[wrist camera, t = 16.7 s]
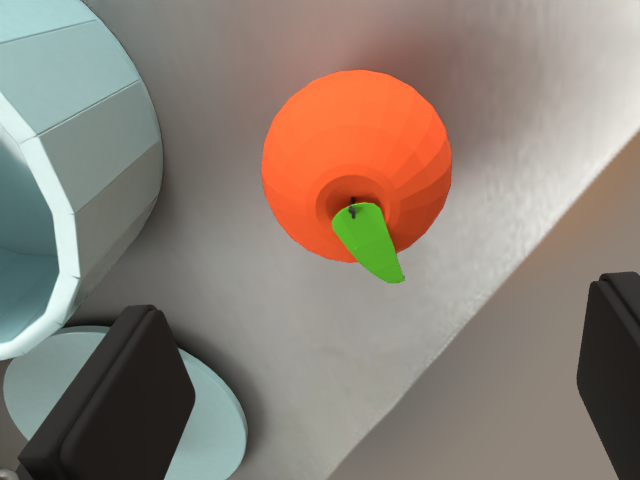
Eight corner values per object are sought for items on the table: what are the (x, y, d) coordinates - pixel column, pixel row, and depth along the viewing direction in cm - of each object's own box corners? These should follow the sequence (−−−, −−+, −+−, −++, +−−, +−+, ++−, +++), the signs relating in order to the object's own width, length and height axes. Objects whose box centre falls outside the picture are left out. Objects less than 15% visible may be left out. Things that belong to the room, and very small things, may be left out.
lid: (75, 482, 37) (29, 565, 32) (-32, 327, 29) (-115, 404, 24) (272, 480, 34) (256, 569, 29) (213, 309, 26) (176, 391, 21)
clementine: (471, 192, 21) (511, 287, 15) (334, 247, 24) (321, 350, 17) (400, 18, 18) (415, 53, 12) (247, 102, 20) (195, 166, 14)
